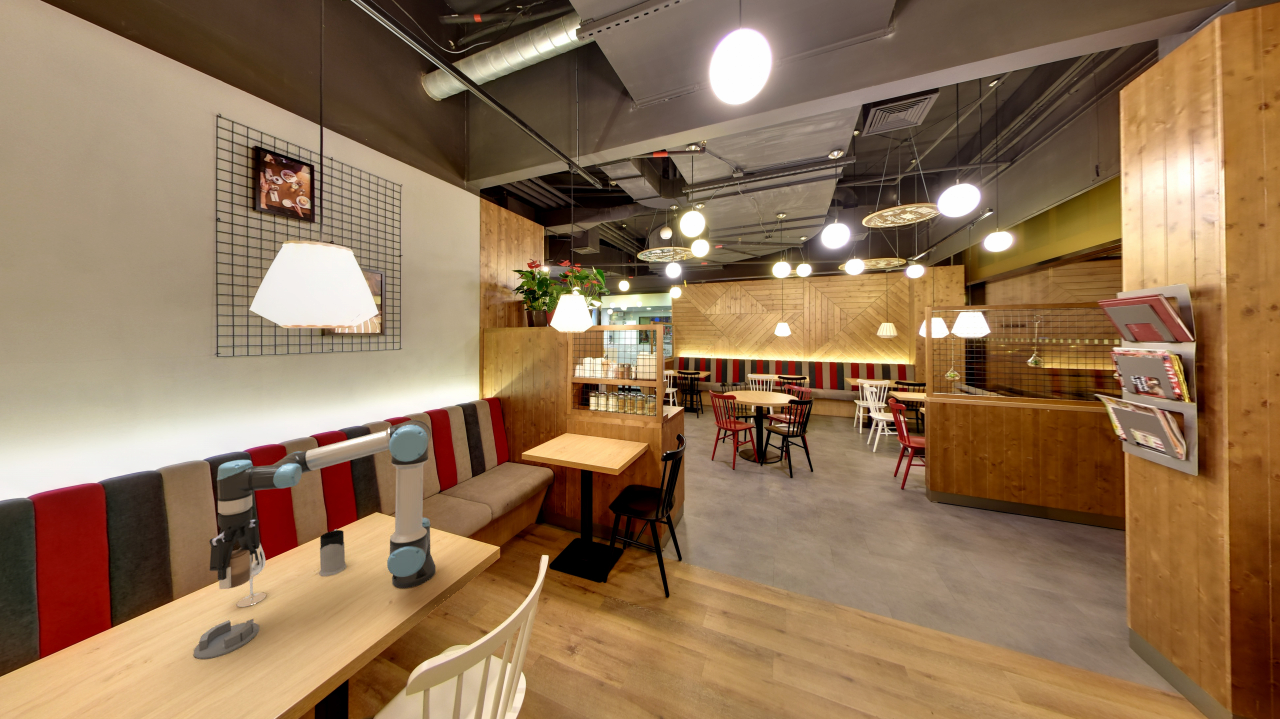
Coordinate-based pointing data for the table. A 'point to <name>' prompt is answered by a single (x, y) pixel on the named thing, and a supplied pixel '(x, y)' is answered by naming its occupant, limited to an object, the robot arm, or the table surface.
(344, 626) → the table surface
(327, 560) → the glass holder
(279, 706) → the table surface
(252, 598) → the wineglass
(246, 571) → the stopper
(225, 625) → the grey round base
